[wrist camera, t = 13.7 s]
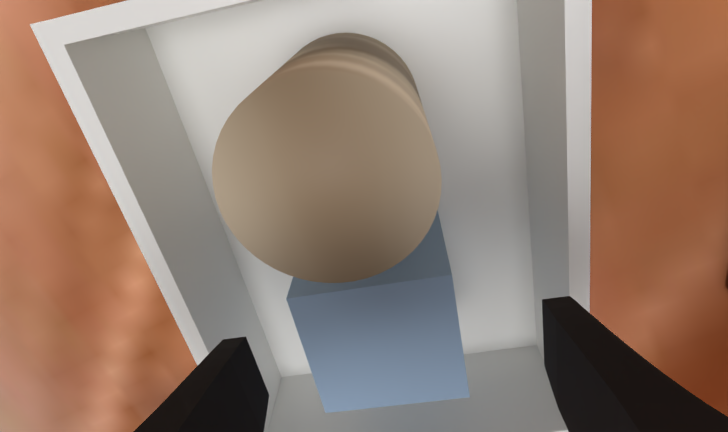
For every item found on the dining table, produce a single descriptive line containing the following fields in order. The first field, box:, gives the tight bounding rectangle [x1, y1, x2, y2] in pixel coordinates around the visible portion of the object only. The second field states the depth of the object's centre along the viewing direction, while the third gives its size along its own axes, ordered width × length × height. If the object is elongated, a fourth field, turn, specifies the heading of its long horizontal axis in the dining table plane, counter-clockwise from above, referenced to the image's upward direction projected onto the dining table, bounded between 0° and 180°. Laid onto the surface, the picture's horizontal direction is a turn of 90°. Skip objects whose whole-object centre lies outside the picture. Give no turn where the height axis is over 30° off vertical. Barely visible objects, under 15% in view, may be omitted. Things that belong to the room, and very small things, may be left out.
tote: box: [30, 0, 592, 432], centre depth 16 cm, size 13×17×5 cm
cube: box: [286, 210, 470, 413], centre depth 17 cm, size 5×5×5 cm
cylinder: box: [212, 33, 442, 283], centre depth 13 cm, size 5×5×7 cm
